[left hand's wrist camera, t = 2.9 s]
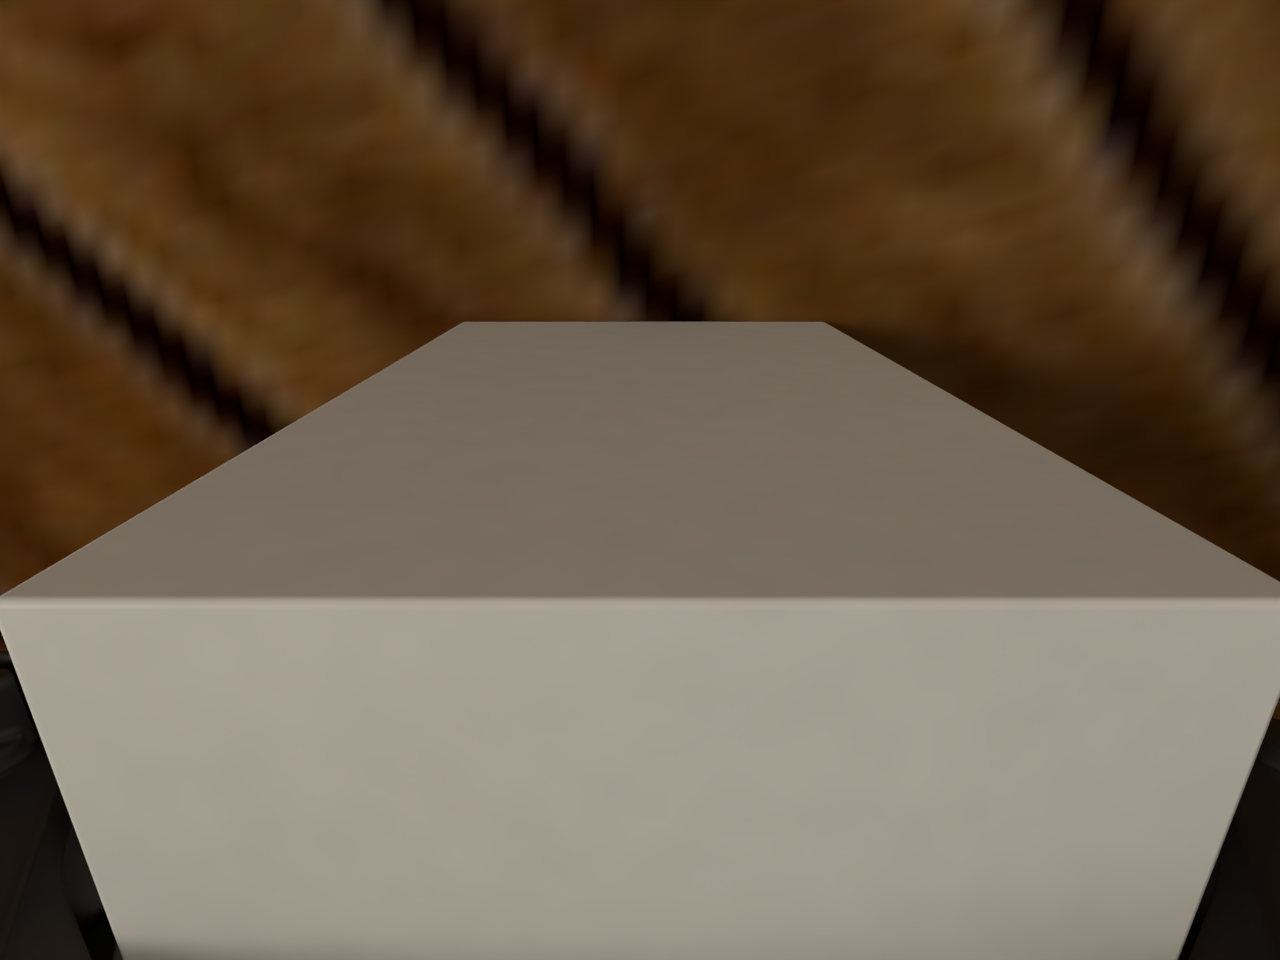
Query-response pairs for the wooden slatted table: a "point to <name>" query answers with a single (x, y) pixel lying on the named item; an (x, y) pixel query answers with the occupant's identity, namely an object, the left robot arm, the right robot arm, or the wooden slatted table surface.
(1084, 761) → the box
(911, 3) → the wooden slatted table surface
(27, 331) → the wooden slatted table surface
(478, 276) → the wooden slatted table surface
